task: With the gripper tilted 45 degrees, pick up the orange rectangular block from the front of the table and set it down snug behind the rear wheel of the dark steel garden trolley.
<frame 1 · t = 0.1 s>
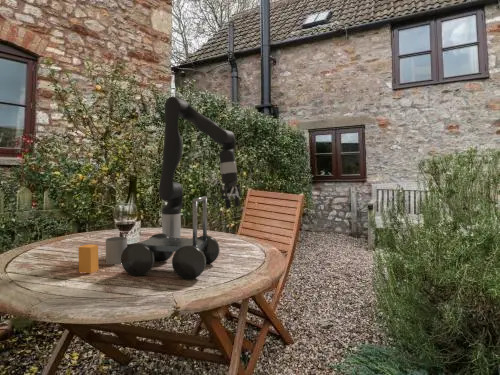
hand: (233, 207, 149), 22 cm above the table, tool pointing down, fingers open, 8 cm apart
trolley: (173, 269, 128), on the table
orange rectangular block: (88, 271, 124), on the table
cup: (116, 262, 137), on the table
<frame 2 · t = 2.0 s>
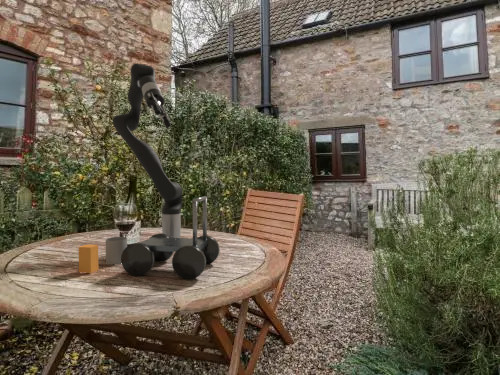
hand: (163, 120, 129), 59 cm above the table, tool tilted 45°, fingers open, 8 cm apart
nothing on the table moved.
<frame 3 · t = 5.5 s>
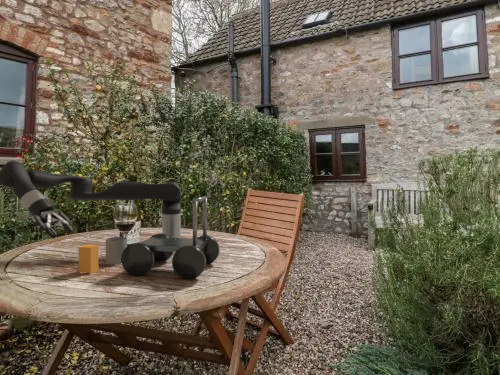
hand: (63, 234, 125), 14 cm above the table, tool tilted 45°, fingers open, 8 cm apart
nothing on the table moved.
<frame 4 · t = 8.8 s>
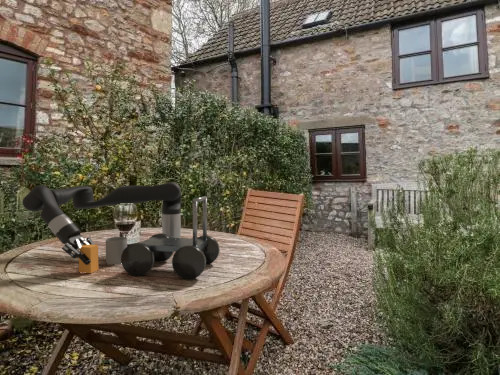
hand: (93, 261, 123), 4 cm above the table, tool tilted 45°, fingers closed on orange rectangular block, 4 cm apart
orange rectangular block: (88, 271, 124), on the table, touching gripper
everything else where it was.
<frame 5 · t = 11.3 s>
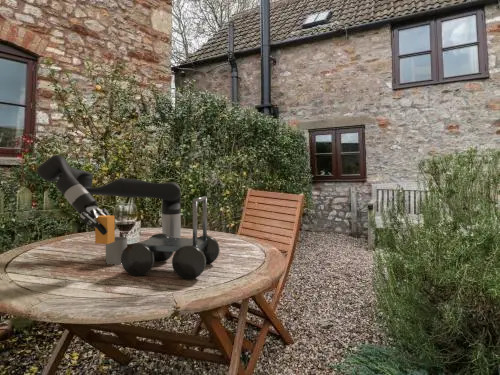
hand: (109, 231, 121), 16 cm above the table, tool tilted 45°, fingers closed on orange rectangular block, 4 cm apart
orange rectangular block: (105, 242, 122), point 12 cm above the table, touching gripper
everything else where it was.
when the fingers open (5 cm above the table, at t = 14.1 s): orange rectangular block stays where it is, on the table.
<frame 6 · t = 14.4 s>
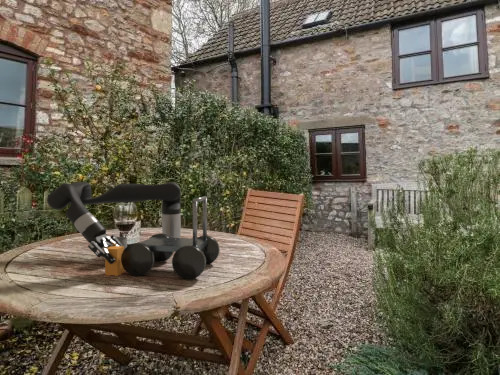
hand: (118, 259, 121), 5 cm above the table, tool tilted 45°, fingers open, 6 cm apart
orange rectangular block: (115, 273, 122), on the table
everything else where it was.
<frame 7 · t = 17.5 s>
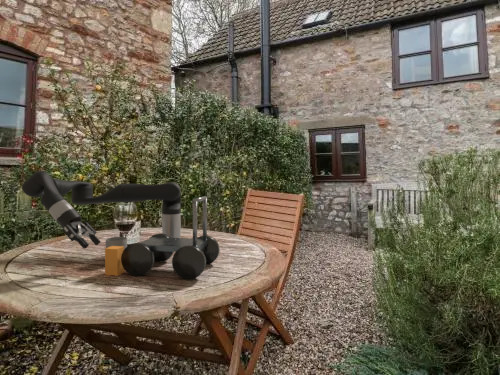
hand: (92, 245, 124), 10 cm above the table, tool tilted 45°, fingers open, 8 cm apart
nothing on the table moved.
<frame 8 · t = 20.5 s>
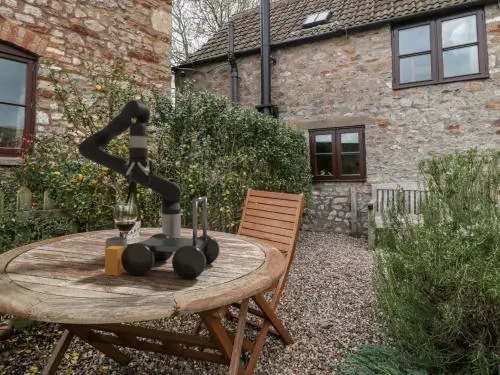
hand: (138, 183, 143), 33 cm above the table, tool pointing down, fingers open, 8 cm apart
nothing on the table moved.
at the end: orange rectangular block 0.3 cm from the target spot on the table beside the trolley, on the table; orange rectangular block tilted 0°; the gripper is holding nothing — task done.
